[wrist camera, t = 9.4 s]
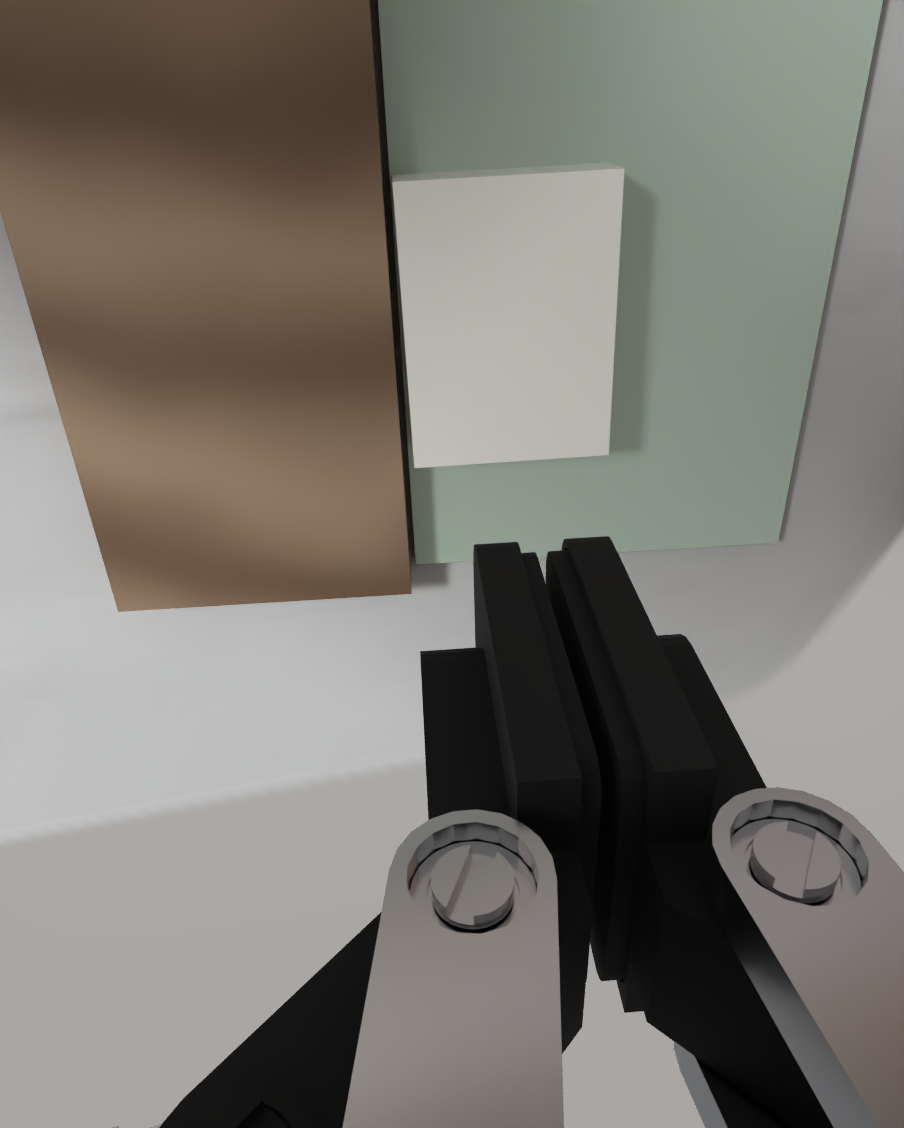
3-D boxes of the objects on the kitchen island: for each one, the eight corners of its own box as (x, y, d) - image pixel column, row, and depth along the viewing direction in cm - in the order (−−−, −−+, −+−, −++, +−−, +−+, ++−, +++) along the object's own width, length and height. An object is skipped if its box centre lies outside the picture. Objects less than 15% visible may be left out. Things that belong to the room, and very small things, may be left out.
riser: (-44, -34, 20) (-74, -42, 19) (366, -49, 20) (364, -58, 19) (130, 588, 29) (118, 611, 28) (410, 571, 30) (411, 593, 28)
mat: (376, -24, 21) (375, -26, 20) (883, -43, 21) (891, -45, 21) (415, 558, 29) (415, 564, 29) (773, 537, 30) (778, 542, 29)
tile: (392, 174, 23) (392, 182, 21) (608, 162, 23) (624, 168, 21) (413, 445, 27) (414, 468, 25) (596, 433, 27) (608, 455, 25)
